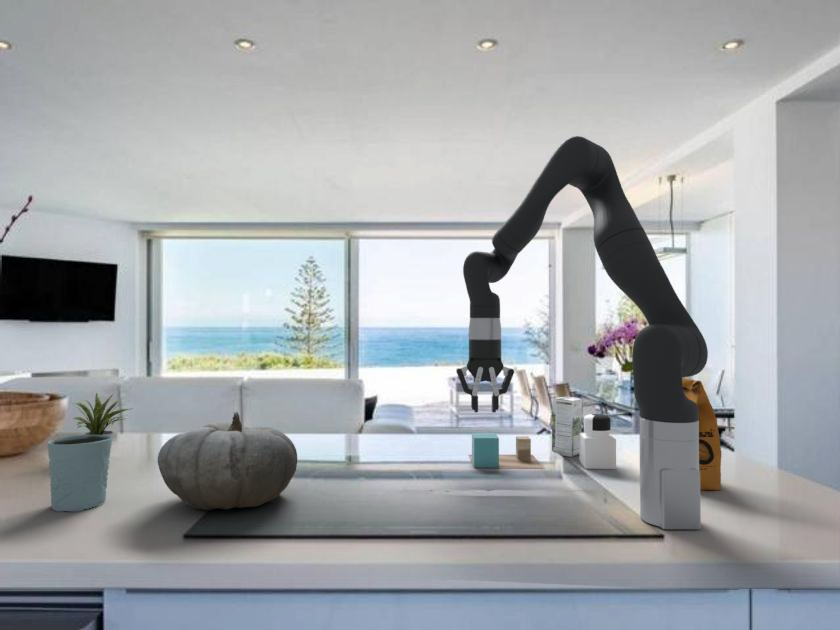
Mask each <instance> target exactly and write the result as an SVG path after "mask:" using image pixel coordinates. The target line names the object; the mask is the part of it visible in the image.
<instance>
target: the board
mask: <svg viewBox="0 0 840 630" xmlns="http://www.w3.org/2000/svg"><path fill="white" fill-rule="evenodd" d="M531 439H532V438H530V437H529V436H520V435H519V436H515V454H499V467H474V466H473V463H472V454H468V458H469V460H470V463H471V466H472V468H473V470H545V469H546V468H545V467H544V465H542V464H541V463H540V461H539V460H538V459H537V458H536V457H535V456H534V455H533V454H532V453H531V452H532V448H531V447H532V446H531V445H532V444H531V443H532V440H531Z"/></svg>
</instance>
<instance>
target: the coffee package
mask: <svg viewBox="0 0 840 630" xmlns="http://www.w3.org/2000/svg"><path fill="white" fill-rule="evenodd" d="M682 382H683V391H684V394H685V395H686V397H687V398H688V399H690V400H692V401H694V402H695V403H696V404H697V405H698V409H699V471H700V491H705V490H706V491H722V483H721V481H722V473H721V469H722V468H721V466H722V447H721V442H720V441H721V440H720V433H719V427H718V419H717V417H716V414H715V411H714V408H713V406H712V404H711V403H710V402H711V401H710V399H709V396H708V395H707V392H706V390H705V388H704V385H703V382H702V381H700V380H695V379H691V378H688V377H682Z"/></svg>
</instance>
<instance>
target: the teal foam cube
mask: <svg viewBox="0 0 840 630" xmlns="http://www.w3.org/2000/svg"><path fill="white" fill-rule="evenodd" d="M499 445H500V438H499V437H498V435H497V433H493V432H492V433H490V432H489V433H487V432H486V433H471V455H472V463H473V465H472V467H473V466H474V467H499V455H500V446H499ZM472 463H471V464H472Z"/></svg>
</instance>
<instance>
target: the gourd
mask: <svg viewBox="0 0 840 630" xmlns="http://www.w3.org/2000/svg"><path fill="white" fill-rule="evenodd" d="M157 465H158V469H159V472H160V475H161V477H162V479H163V482H164V484H165V485H166V487H167V489H169V490H170V491H171V492H172V493H173V494H174V495H175V496H177V498H179V499H180V500H182V502H184V503H186V504H187V505H189V506H191V507H192V508H194V509H197V510H205V511H206V510H207V511H212V510H214V509H215V510H216V509H220V510H221V509H222V510H230V509H233V508H238V509H242V508H255V507H256V508H257V507H259V506H261V505H263V504H265V503H268V502H271V501H273V500H274V499H276V498H277V497H278V496H279V495H280V494H282V493H283V492H284V491H285V489H286V488H287V487H288V486H289V484H290V483H291V480H292V478H293V477H294V475H295V474H296V470H297V467H298V466H297V465H298V451H297V448H296V447H295V444H294V443H293V441H292V440H291V438H289V437H288V436H287V435H286V434H285V433H284V432H282V431H280V430H278V429H275V428H273V427H265V426H257V427H256V426H255V427H251V428H250V427H248V426H244V425H242V422H241V420H240V415H239V412H238V411H235V412H233V416H232V421H231V422H230V421H227V420H226V421H225V420H222V421H221V420H219V421H217V420H216V421H213V422H210V423H207V424H205V425H203V426H201V427H197V428H193V429H190V430H189V431H185V432H181V433H177V434H176V435H173V436H172V437H171V438H169V439H167V441H166V442H165V443H164V444H163V445H162V446H161V448H160V449H159V451H158V455H157Z"/></svg>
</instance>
